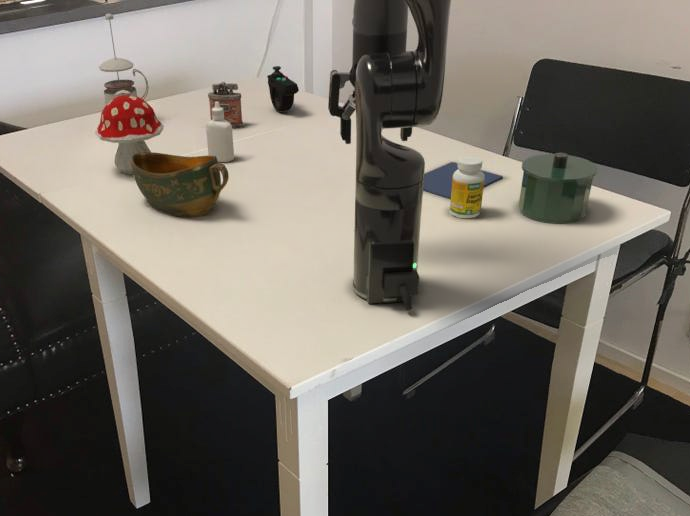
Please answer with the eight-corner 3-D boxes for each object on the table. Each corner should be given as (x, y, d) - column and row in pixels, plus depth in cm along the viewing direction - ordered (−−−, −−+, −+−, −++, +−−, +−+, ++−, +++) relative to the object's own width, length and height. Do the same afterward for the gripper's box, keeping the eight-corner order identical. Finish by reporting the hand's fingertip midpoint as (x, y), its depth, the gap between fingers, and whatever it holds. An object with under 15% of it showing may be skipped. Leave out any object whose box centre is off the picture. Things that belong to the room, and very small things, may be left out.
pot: (595, 221, 130) (604, 179, 126) (530, 225, 130) (536, 182, 126) (571, 196, 139) (579, 156, 135) (510, 199, 139) (516, 159, 135)
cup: (169, 234, 133) (162, 178, 127) (131, 197, 148) (123, 145, 142) (236, 218, 138) (232, 163, 132) (193, 183, 152) (188, 132, 147)
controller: (282, 104, 196) (280, 63, 190) (301, 117, 186) (300, 74, 180) (266, 106, 194) (264, 65, 189) (285, 119, 185) (283, 76, 179)
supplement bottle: (464, 204, 138) (470, 152, 133) (487, 213, 135) (493, 160, 129) (442, 212, 136) (447, 159, 131) (464, 221, 132) (470, 167, 127)
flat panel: (502, 178, 148) (502, 176, 148) (455, 200, 140) (455, 198, 140) (451, 163, 156) (451, 161, 155) (404, 184, 148) (404, 182, 147)
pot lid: (608, 183, 126) (612, 165, 124) (534, 187, 126) (537, 169, 124) (580, 158, 136) (583, 141, 134) (511, 162, 136) (514, 144, 134)
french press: (102, 121, 190) (84, 12, 176) (148, 115, 192) (134, 7, 178) (107, 132, 182) (89, 19, 168) (155, 126, 185) (141, 14, 171)
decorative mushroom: (123, 186, 153) (111, 110, 144) (89, 169, 162) (77, 96, 153) (181, 168, 160) (173, 95, 151) (146, 153, 169) (136, 82, 160)
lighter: (208, 127, 182) (204, 84, 177) (213, 123, 185) (209, 80, 179) (240, 129, 180) (237, 85, 174) (245, 124, 183) (242, 81, 177)
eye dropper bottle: (224, 153, 166) (220, 97, 160) (236, 161, 162) (232, 103, 155) (206, 157, 165) (201, 100, 158) (217, 165, 161) (213, 107, 154)
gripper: (332, 35, 104) (331, 152, 113) (436, 29, 104) (427, 146, 113) (326, 23, 110) (326, 135, 119) (425, 18, 110) (417, 130, 119)
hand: (375, 141), depth 116 cm, fingers open, 8 cm apart
